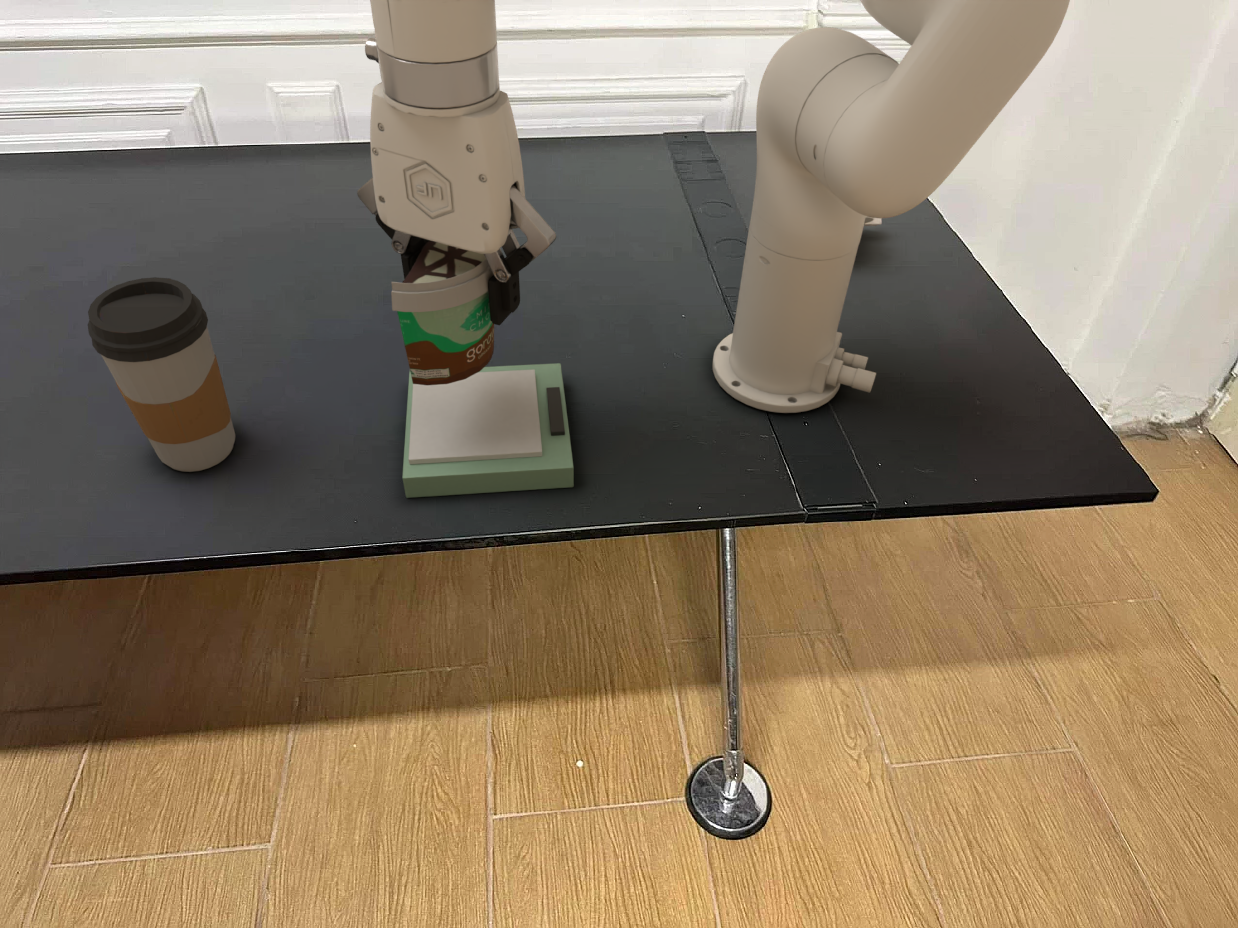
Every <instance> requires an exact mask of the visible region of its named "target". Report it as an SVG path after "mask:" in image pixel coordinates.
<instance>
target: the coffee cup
mask: <svg viewBox="0 0 1238 928" xmlns="http://www.w3.org/2000/svg"><path fill="white" fill-rule="evenodd" d="M89 305H90V306H89V308H88V311H87V314H88V321H87V322H88V323H87V331H88V335H89V337H90V338H91V344H92V348H94V350H95V351H96V352H97V354H99V355H100V356H101V357H102V359H103V361H104V363H105V365H106V366H107V368H108V370H109V372H110V374H111V376H112V377H113V379H114V381H115V384H116V387H117V389H118V390H119V392H120V394H121V396H122V398H123V399H124V401H125V403H126V404H127V406H128V408H129V410H130V411H131V413H132V415H133V417H134V419H135V420H136V422H137V424H138V425H139V427H140V429H141V431H142V433H143V434H144V435H145V437H146V438H147V440H148V441H149V443H150V445H151V447H152V448H153V450H154V452H155V454H156V455H157V457H158V459H159V460H160V461H161V463H163V464H165V465H166V466H168V467H169V468H171V469H173V470H175V471H179V472H189V473H192V472H200V471H203V470H207V469H210V468H212V467H214V466H216V465H218V464H220V463H221V462H223V461H224V460H225V459H226V458H227V457H228V456H229V455H230V454H231V452H232V450H233V449H234V444H235V441H236V433H235V429H234V424H233V420H232V417H231V409H230V404H229V401H228V398H227V394H226V390H225V386H224V381H223V378H222V374H221V371H220V366H219V362H218V358H217V355H216V354H215V352H214V347H213V345H212V344H213V343H212V341H211V337H210V332H209V329H208V322H209V318H208V314H207V312H206V310H205V309H204V307H203V305H202V301H201V300H200V299H199V298H198V296H196V295H195V294H194V293H192V291H191V289H190V288H189V287H188V286H187V284H185V283H183V282H181V281H179V280H176V279H173V278H168V277H156V276H154V277H142V278H137V279H132V280H127V281H124V282H122V283H118V284H116V285H114V286H112V287H110V288H108V289H106V290H105V291H103V292H101V293H100V294H99V295H98V296H96V298H95V299H94V300H93V301H92V302H91V304H89Z"/></svg>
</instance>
